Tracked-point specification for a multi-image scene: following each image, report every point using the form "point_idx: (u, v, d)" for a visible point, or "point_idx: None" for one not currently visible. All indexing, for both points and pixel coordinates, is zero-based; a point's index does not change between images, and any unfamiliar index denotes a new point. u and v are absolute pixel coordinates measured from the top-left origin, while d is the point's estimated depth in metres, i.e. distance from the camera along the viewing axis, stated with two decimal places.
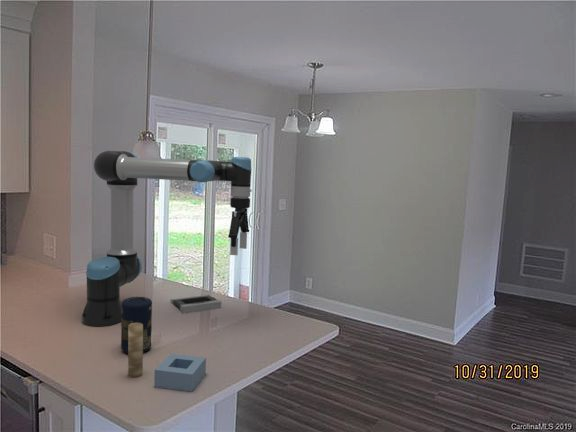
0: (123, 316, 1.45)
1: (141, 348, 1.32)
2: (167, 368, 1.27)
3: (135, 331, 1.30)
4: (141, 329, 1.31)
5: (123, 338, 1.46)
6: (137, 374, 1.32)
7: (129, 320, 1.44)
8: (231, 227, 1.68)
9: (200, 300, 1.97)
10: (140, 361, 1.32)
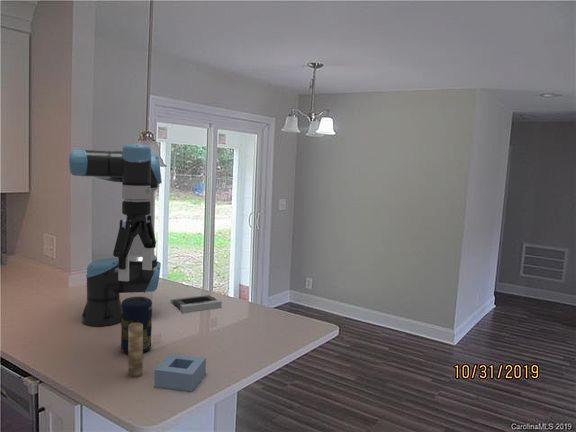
0: (123, 316, 1.45)
1: (141, 348, 1.32)
2: (167, 368, 1.27)
3: (135, 331, 1.30)
4: (141, 329, 1.31)
5: (123, 338, 1.46)
6: (137, 374, 1.32)
7: (129, 320, 1.44)
8: (117, 242, 1.20)
9: (200, 300, 1.97)
10: (140, 361, 1.32)
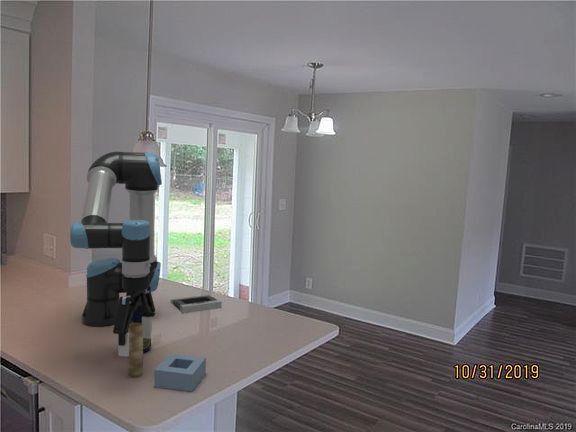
0: None
1: (141, 348, 1.32)
2: (167, 368, 1.27)
3: (135, 331, 1.30)
4: (141, 329, 1.31)
5: None
6: (137, 374, 1.32)
7: None
8: (117, 320, 1.23)
9: (200, 300, 1.97)
10: (140, 361, 1.32)
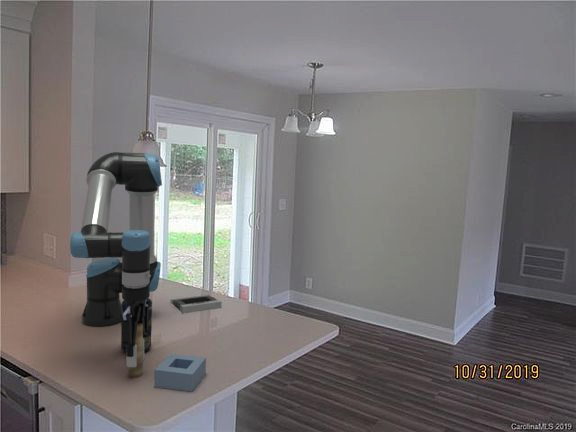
0: None
1: (141, 348, 1.32)
2: (167, 368, 1.27)
3: None
4: (141, 329, 1.31)
5: None
6: (137, 374, 1.32)
7: None
8: (123, 334, 1.26)
9: (200, 300, 1.97)
10: (140, 361, 1.32)
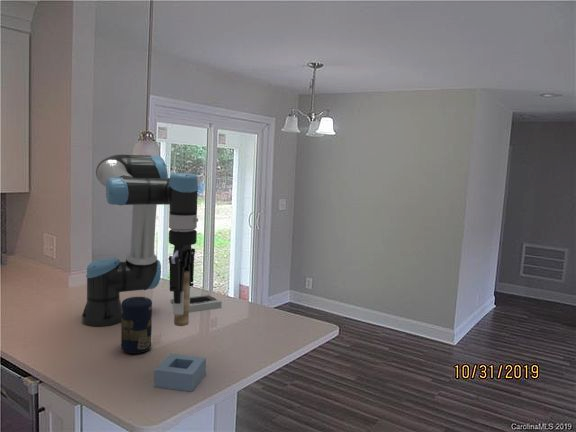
0: (123, 316, 1.45)
1: (188, 296, 1.28)
2: (167, 368, 1.27)
3: None
4: (188, 276, 1.27)
5: (123, 338, 1.46)
6: (184, 323, 1.28)
7: (129, 320, 1.44)
8: (171, 279, 1.22)
9: (200, 300, 1.97)
10: (187, 309, 1.28)
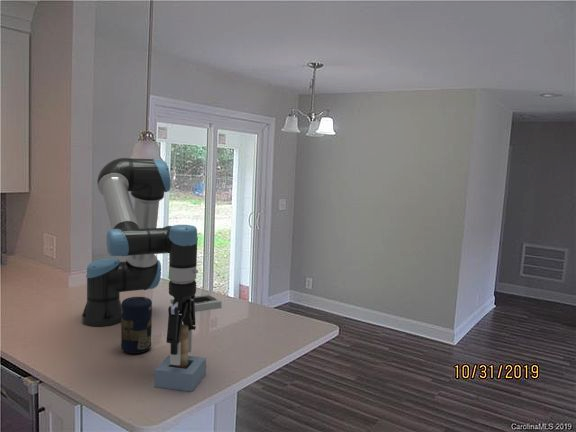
0: (123, 316, 1.45)
1: (187, 350, 1.29)
2: (167, 368, 1.27)
3: (181, 334, 1.27)
4: (187, 331, 1.28)
5: (123, 338, 1.46)
6: None
7: (129, 320, 1.44)
8: (169, 330, 1.22)
9: (200, 300, 1.97)
10: (186, 363, 1.30)
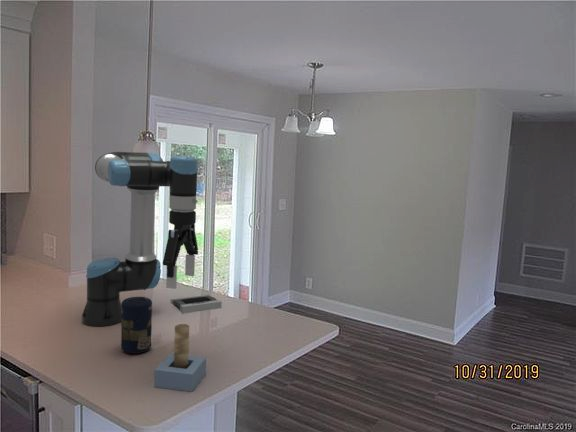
0: (123, 316, 1.45)
1: (187, 350, 1.30)
2: (167, 368, 1.27)
3: (181, 333, 1.28)
4: (188, 331, 1.29)
5: (123, 338, 1.46)
6: None
7: (129, 320, 1.44)
8: (166, 251, 1.25)
9: (200, 300, 1.97)
10: (186, 363, 1.30)
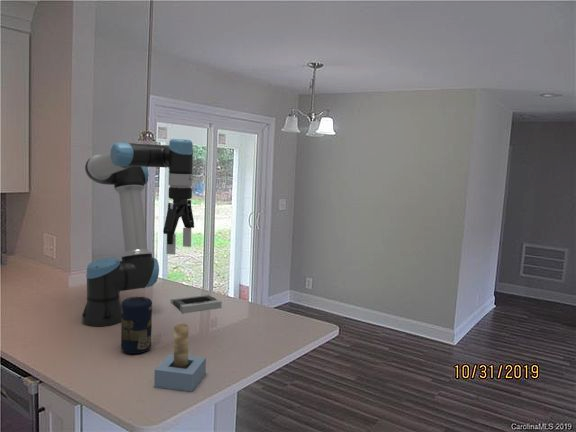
0: (123, 316, 1.45)
1: (187, 350, 1.30)
2: (167, 368, 1.27)
3: (181, 333, 1.28)
4: (187, 330, 1.29)
5: (123, 338, 1.46)
6: None
7: (129, 320, 1.44)
8: (166, 221, 1.43)
9: (200, 300, 1.97)
10: (186, 363, 1.30)
